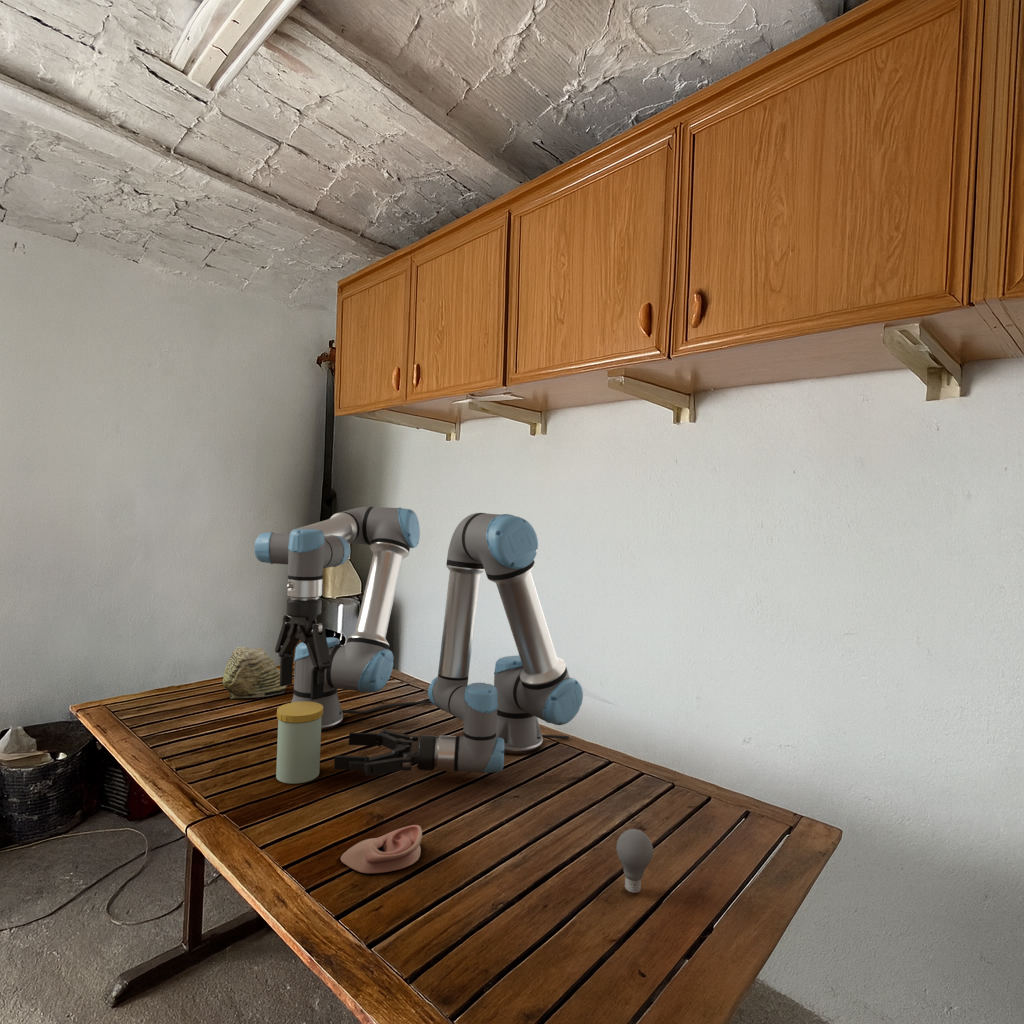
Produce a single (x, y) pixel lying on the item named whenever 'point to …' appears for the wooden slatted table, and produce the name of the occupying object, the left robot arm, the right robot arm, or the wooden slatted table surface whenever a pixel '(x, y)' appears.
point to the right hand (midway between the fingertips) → (342, 749)
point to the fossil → (251, 674)
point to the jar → (298, 751)
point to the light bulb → (634, 857)
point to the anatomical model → (385, 851)
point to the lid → (300, 712)
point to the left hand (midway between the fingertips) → (300, 691)
